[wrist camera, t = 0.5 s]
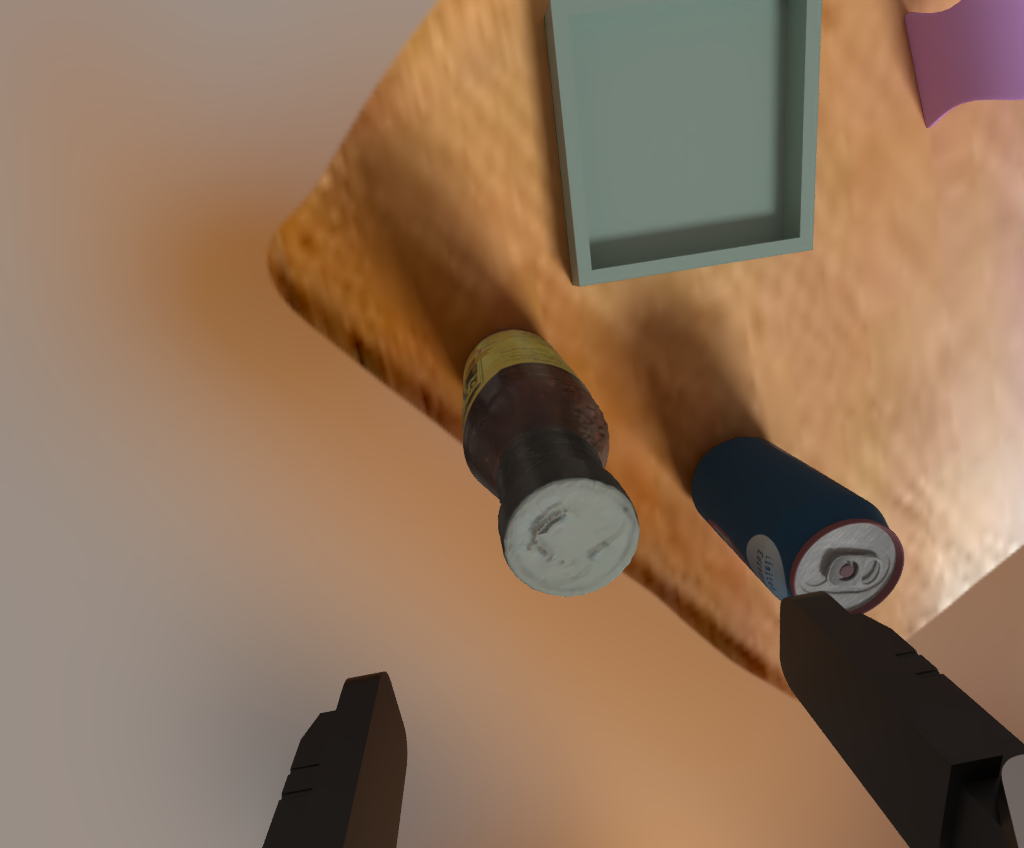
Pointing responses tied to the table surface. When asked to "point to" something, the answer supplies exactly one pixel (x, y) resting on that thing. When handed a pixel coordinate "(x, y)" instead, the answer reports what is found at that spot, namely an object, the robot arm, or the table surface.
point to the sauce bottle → (545, 466)
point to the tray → (684, 131)
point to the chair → (967, 54)
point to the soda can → (797, 525)
